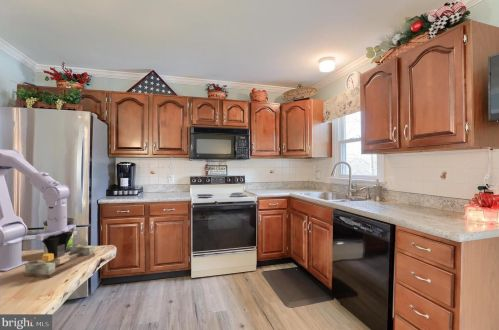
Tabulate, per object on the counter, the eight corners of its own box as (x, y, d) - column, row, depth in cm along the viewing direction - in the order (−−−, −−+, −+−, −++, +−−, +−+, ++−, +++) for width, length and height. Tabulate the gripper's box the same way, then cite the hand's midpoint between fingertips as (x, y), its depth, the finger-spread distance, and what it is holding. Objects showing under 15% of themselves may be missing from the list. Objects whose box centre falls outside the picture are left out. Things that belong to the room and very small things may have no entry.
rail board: (24, 276, 83) (24, 262, 83) (73, 254, 103) (73, 243, 103) (49, 278, 82) (49, 264, 82) (95, 255, 102) (95, 244, 102)
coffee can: (79, 249, 109) (79, 218, 109) (57, 258, 99) (57, 223, 99) (60, 247, 111) (60, 217, 111) (36, 256, 101) (36, 222, 101)
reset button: (42, 261, 82) (42, 255, 82) (47, 258, 84) (47, 253, 84) (48, 261, 82) (48, 255, 82) (53, 259, 84) (53, 253, 84)
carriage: (45, 263, 89) (45, 246, 89) (55, 258, 93) (55, 243, 92) (59, 264, 88) (59, 247, 88) (69, 259, 92) (69, 243, 92)
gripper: (48, 222, 82) (48, 262, 82) (82, 214, 97) (83, 247, 97) (30, 222, 83) (30, 261, 83) (67, 213, 98) (67, 247, 98)
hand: (57, 254), depth 90 cm, fingers closed on carriage, 3 cm apart
